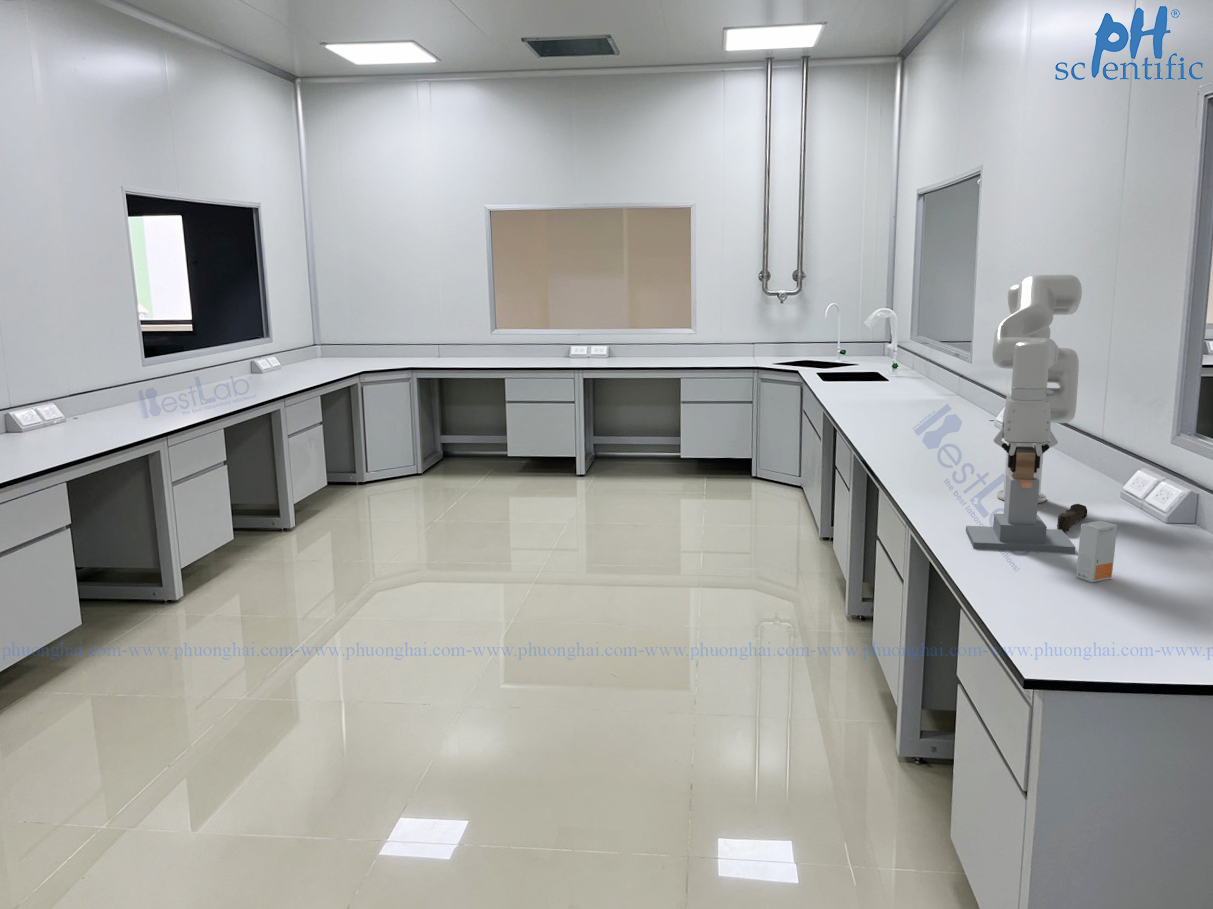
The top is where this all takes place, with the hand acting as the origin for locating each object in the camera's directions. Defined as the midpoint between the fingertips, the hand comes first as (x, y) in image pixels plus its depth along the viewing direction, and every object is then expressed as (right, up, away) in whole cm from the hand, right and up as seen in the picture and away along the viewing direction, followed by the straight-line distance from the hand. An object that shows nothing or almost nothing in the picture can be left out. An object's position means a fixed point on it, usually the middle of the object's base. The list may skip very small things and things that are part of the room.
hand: (1023, 470), depth 218 cm
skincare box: (+5, -23, -22) cm, 32 cm away
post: (0, -11, +2) cm, 11 cm away
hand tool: (+19, -15, +15) cm, 29 cm away
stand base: (0, -17, +4) cm, 18 cm away
